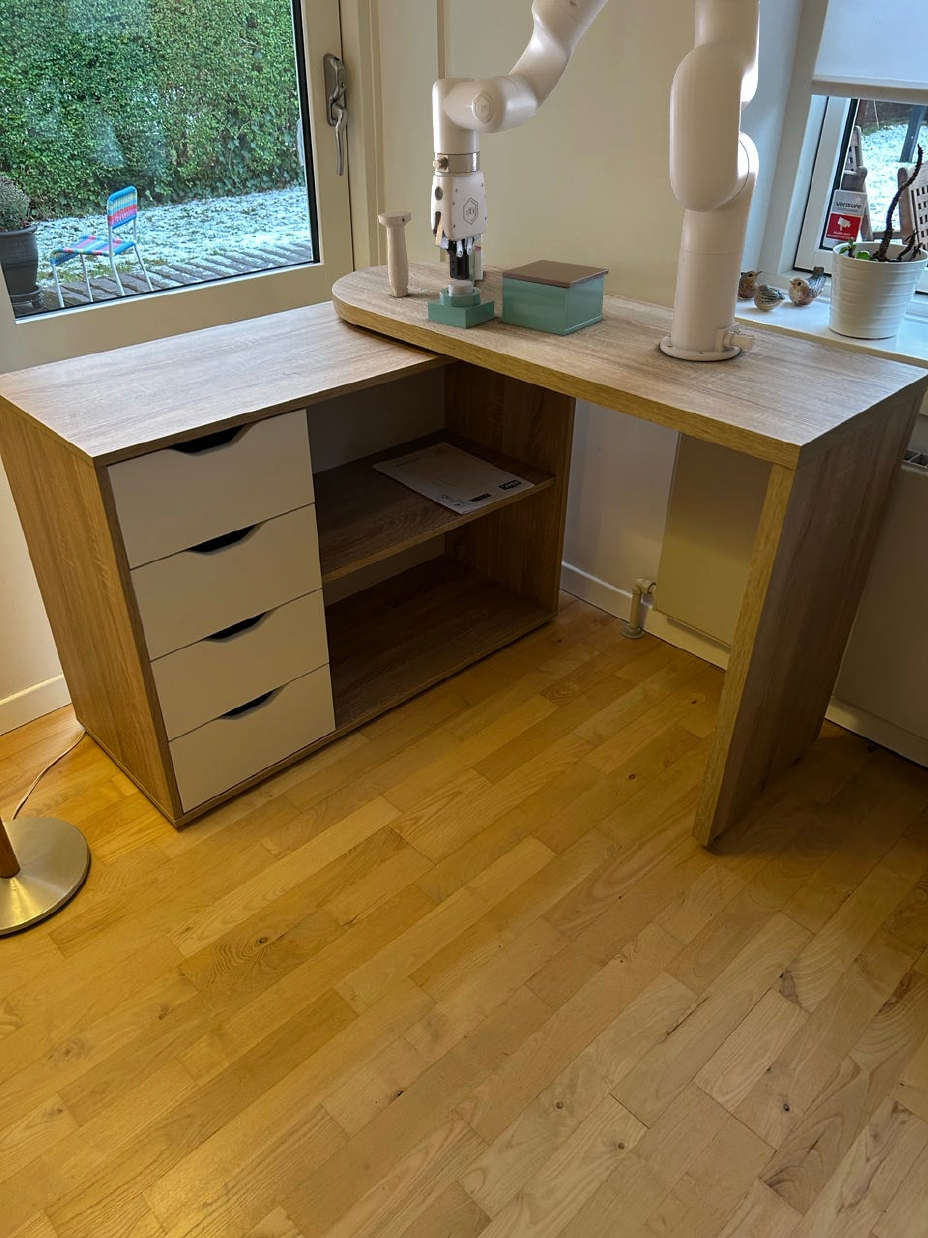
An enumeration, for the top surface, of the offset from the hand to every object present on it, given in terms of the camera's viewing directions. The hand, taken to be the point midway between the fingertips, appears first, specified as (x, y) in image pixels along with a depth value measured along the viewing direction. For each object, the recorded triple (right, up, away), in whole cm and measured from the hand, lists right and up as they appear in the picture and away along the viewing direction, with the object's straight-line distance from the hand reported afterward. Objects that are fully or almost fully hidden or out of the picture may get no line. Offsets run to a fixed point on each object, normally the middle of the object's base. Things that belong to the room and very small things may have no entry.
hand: (459, 277), depth 162 cm
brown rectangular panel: (+17, -1, -3) cm, 17 cm away
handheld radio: (+2, +5, +21) cm, 22 cm away
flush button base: (0, -6, +4) cm, 7 cm away
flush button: (0, -2, +1) cm, 3 cm away
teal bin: (+17, -7, +2) cm, 18 cm away
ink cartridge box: (+2, +12, +30) cm, 33 cm away
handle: (-12, +4, +19) cm, 23 cm away
